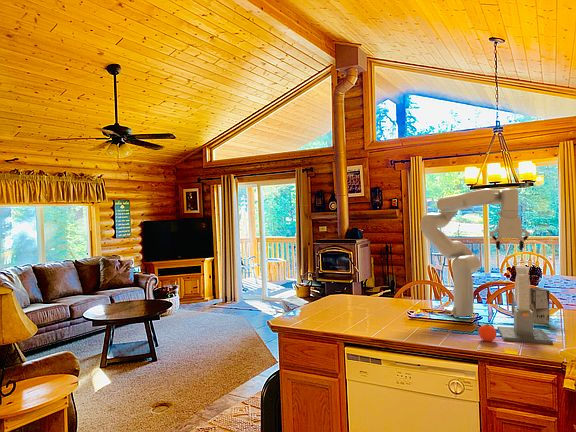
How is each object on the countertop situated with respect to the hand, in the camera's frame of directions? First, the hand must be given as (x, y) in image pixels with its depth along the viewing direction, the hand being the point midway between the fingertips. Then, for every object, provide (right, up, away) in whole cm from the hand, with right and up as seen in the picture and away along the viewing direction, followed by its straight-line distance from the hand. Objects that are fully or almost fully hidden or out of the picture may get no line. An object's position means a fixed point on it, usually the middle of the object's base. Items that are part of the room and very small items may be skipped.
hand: (509, 249), depth 206 cm
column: (-4, -29, -20) cm, 35 cm away
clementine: (-23, -37, -25) cm, 50 cm away
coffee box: (+18, -36, +7) cm, 41 cm away
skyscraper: (+18, -37, +22) cm, 46 cm away
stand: (-4, -36, -20) cm, 41 cm away
